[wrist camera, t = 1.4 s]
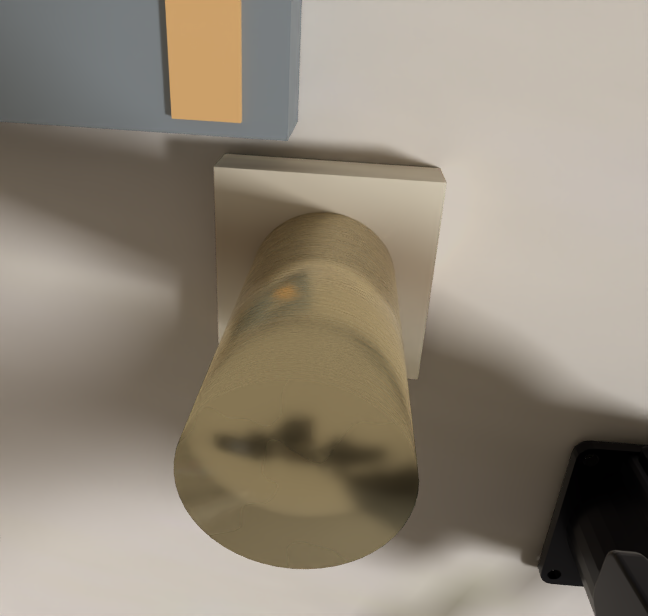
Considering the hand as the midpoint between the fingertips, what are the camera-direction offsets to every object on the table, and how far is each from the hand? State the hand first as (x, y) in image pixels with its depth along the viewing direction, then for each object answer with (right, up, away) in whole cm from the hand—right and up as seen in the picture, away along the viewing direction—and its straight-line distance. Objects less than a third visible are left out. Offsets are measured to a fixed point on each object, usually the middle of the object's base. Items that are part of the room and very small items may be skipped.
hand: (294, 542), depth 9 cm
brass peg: (0, +4, +8) cm, 9 cm away
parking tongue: (0, +5, +10) cm, 11 cm away
